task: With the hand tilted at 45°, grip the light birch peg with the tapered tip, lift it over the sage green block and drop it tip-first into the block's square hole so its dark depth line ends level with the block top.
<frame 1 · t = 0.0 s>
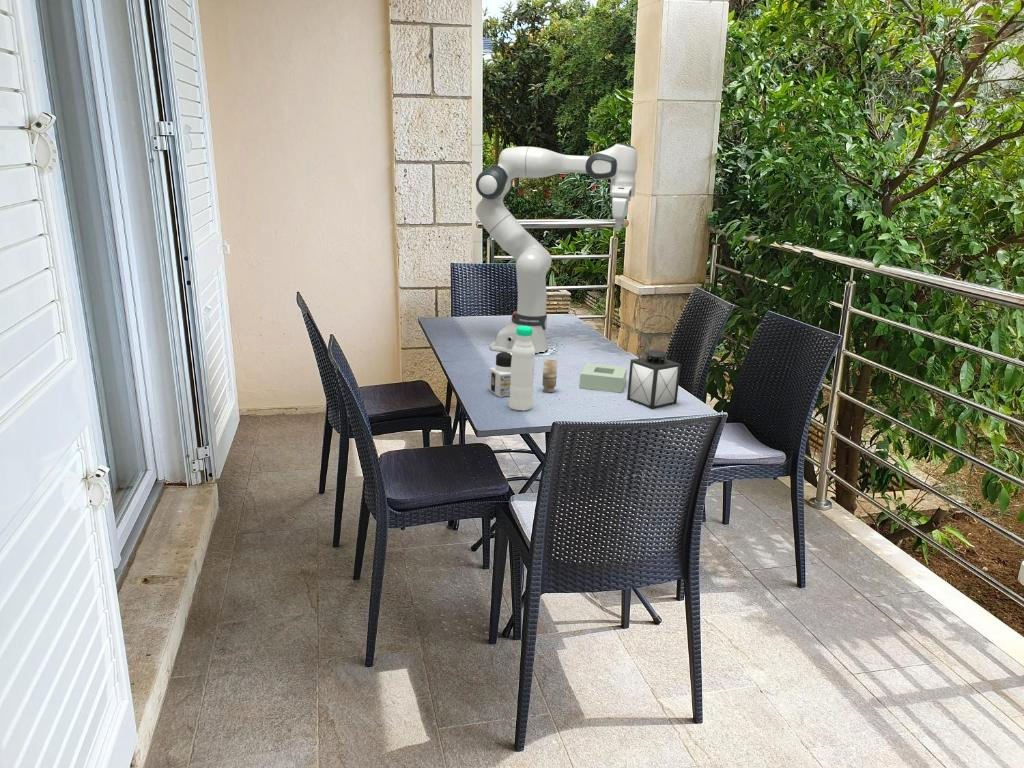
hand: (619, 230, 291), 48 cm above the table, tool pointing down, fingers open, 8 cm apart
hole block: (603, 384, 270), on the table
lantern: (651, 402, 254), on the table
water bottle: (520, 408, 242), on the table
container: (504, 393, 256), on the table
peg: (548, 391, 260), on the table
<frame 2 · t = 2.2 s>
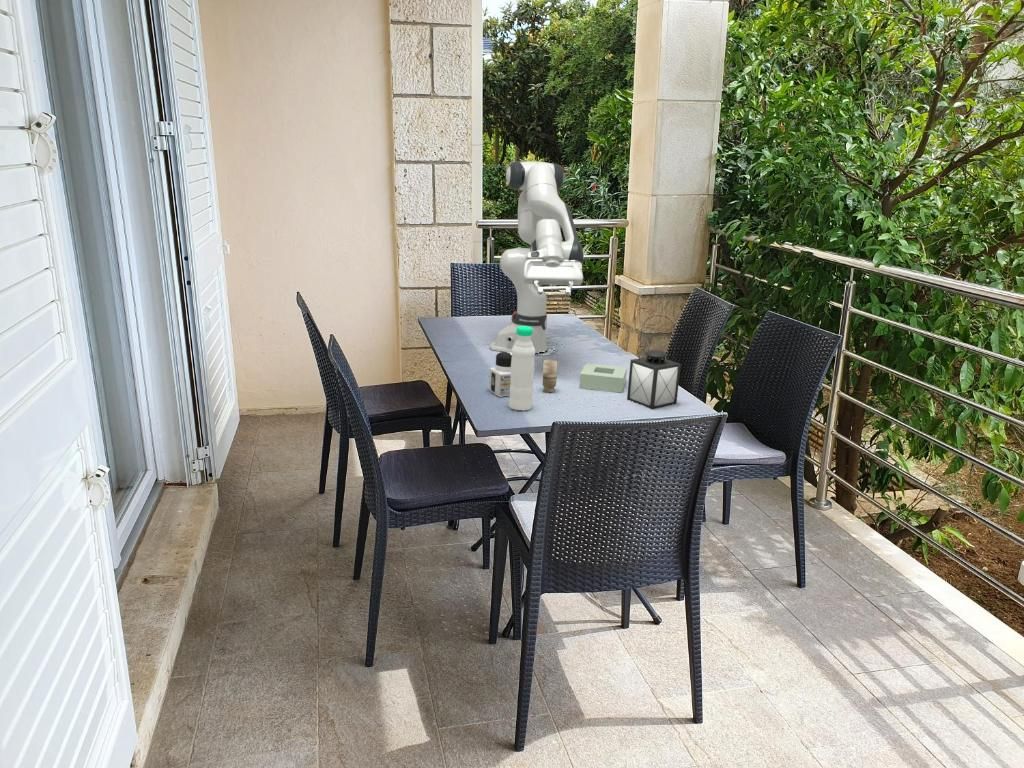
hand: (554, 294, 263), 30 cm above the table, tool tilted 45°, fingers open, 8 cm apart
nothing on the table moved.
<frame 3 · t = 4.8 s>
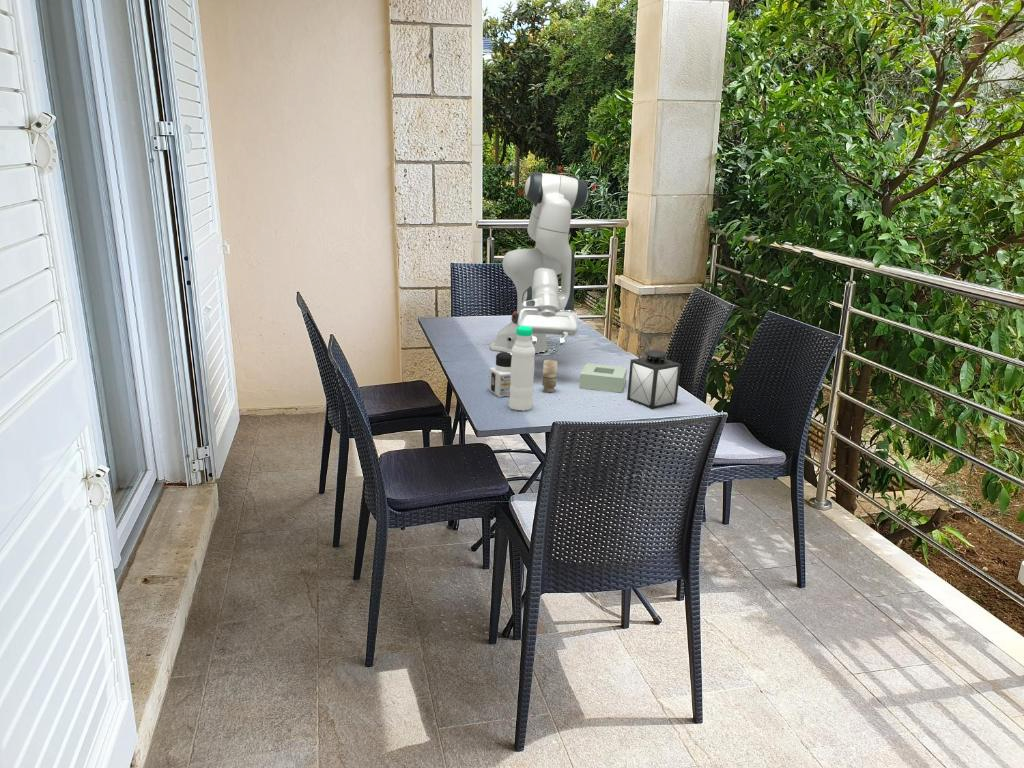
hand: (548, 343, 262), 14 cm above the table, tool tilted 45°, fingers open, 8 cm apart
nothing on the table moved.
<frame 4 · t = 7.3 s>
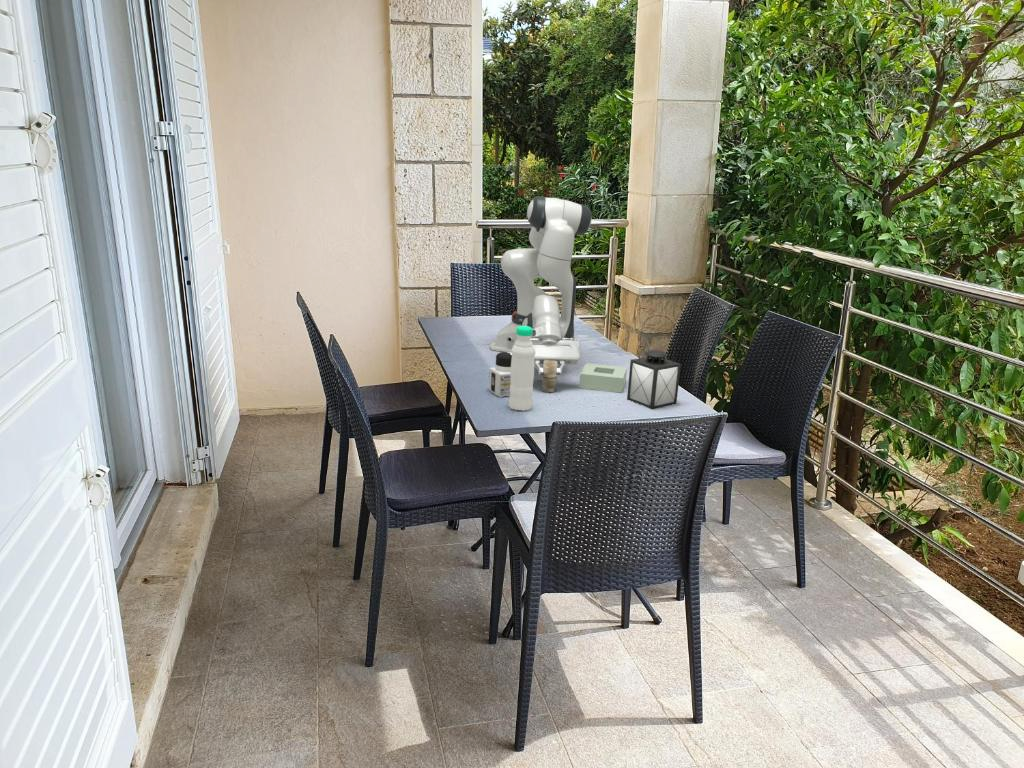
hand: (550, 374, 257), 6 cm above the table, tool tilted 45°, fingers closed on peg, 4 cm apart
peg: (548, 391, 260), on the table, touching gripper
everything else where it was.
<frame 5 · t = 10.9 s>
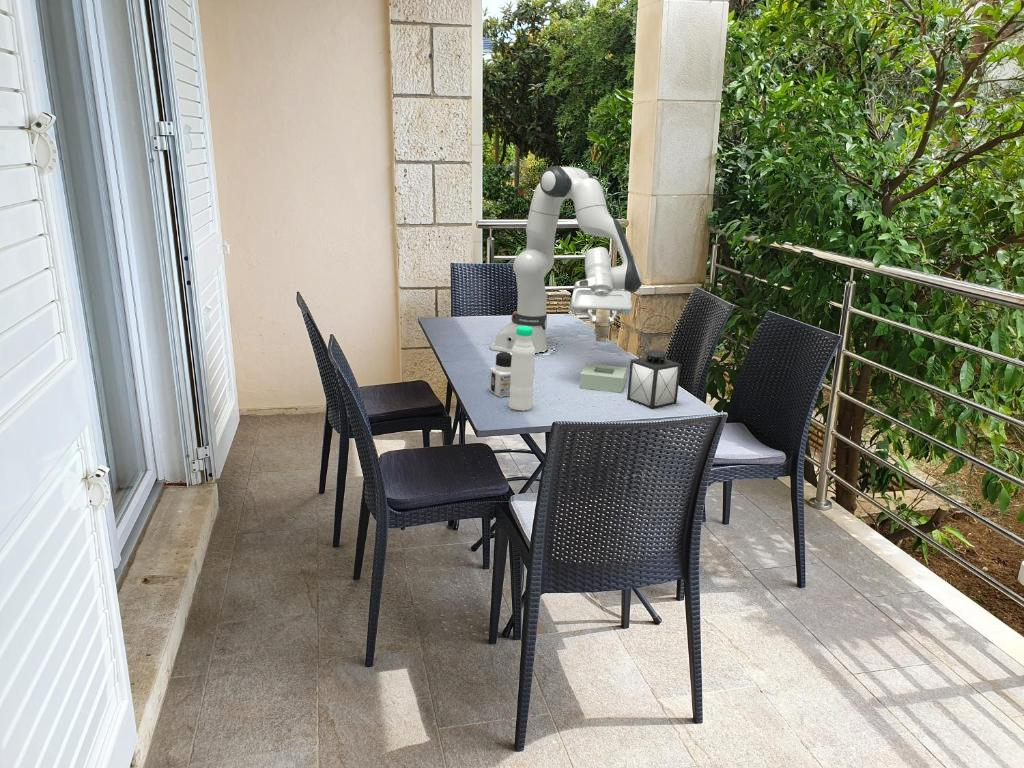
hand: (602, 323, 261), 22 cm above the table, tool tilted 45°, fingers closed on peg, 4 cm apart
peg: (600, 340, 263), point 16 cm above the table, touching gripper
everything else where it was.
when the fingers open (8 cm above the table, at t = 14.6 s): peg drops 2 cm, resting in hole block.
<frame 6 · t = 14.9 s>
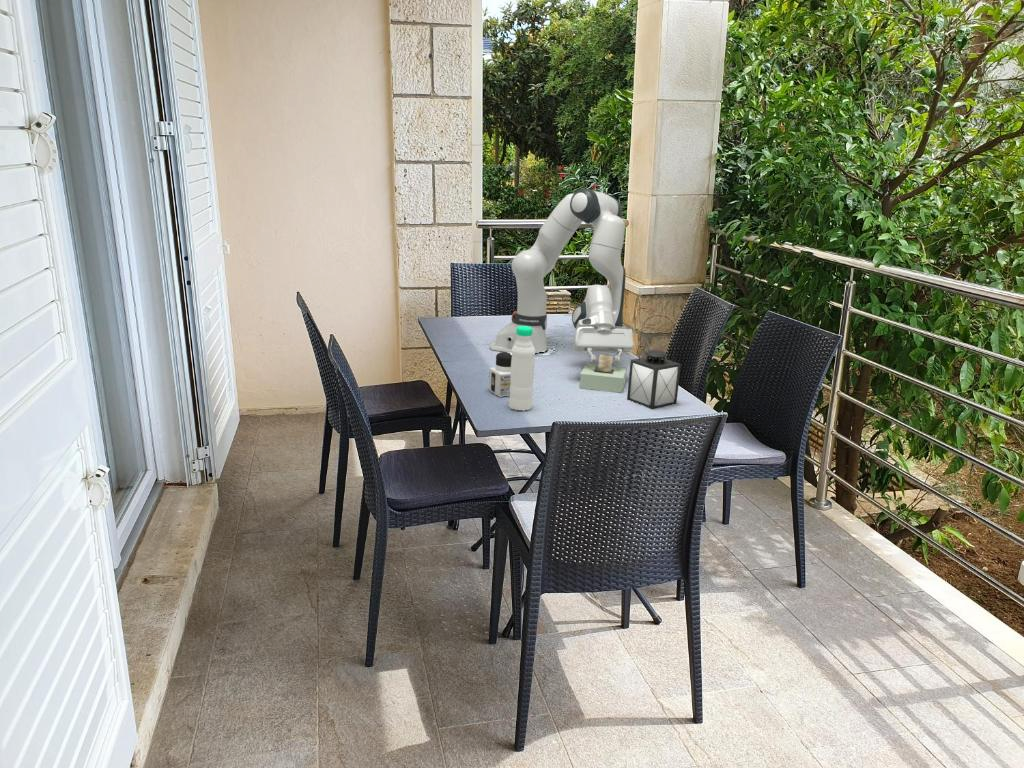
hand: (605, 361, 267), 8 cm above the table, tool tilted 45°, fingers open, 7 cm apart
peg: (602, 384, 269), resting in hole block
everything else where it was.
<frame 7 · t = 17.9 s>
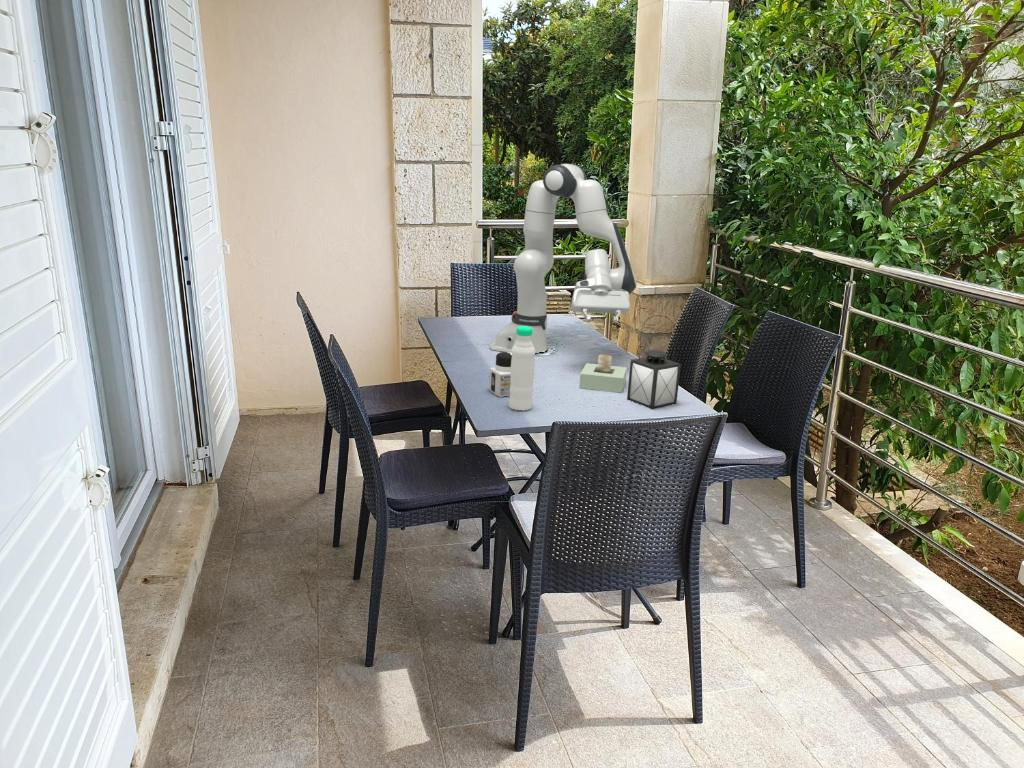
hand: (602, 321, 274), 19 cm above the table, tool tilted 45°, fingers open, 8 cm apart
nothing on the table moved.
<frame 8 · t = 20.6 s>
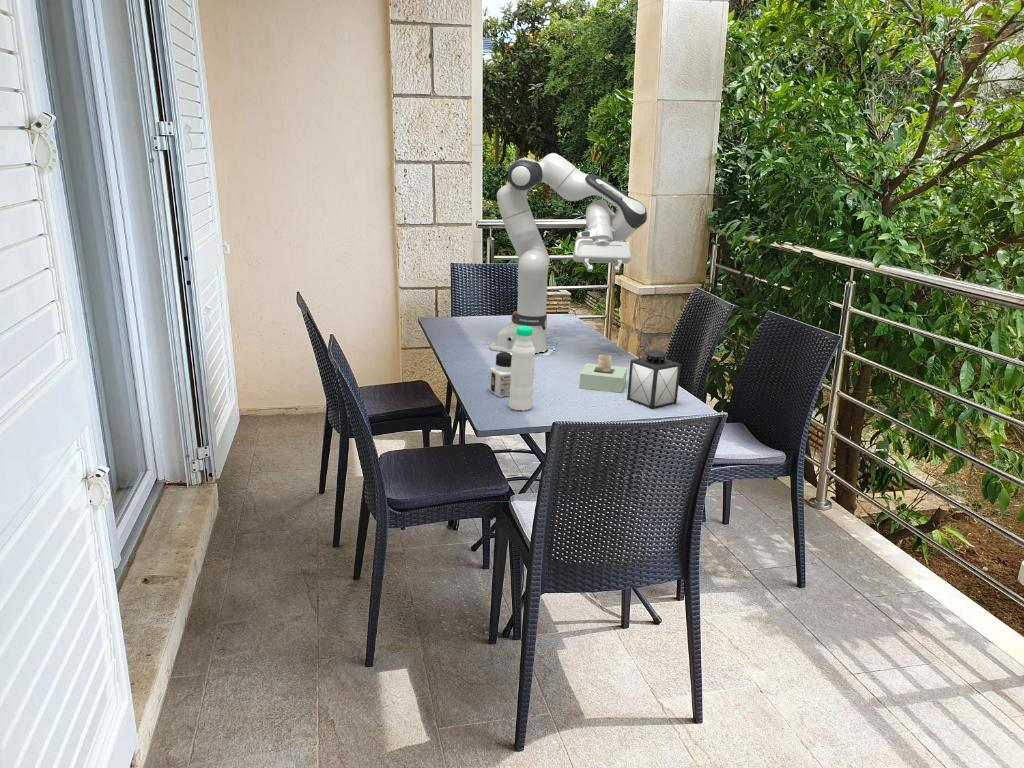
hand: (603, 271, 278), 35 cm above the table, tool tilted 45°, fingers open, 8 cm apart
nothing on the table moved.
at the end: peg 0.2 cm off-centre on the hole block, point 0.0 cm above the hole block's base; peg tilted 0°; the gripper is holding nothing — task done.
